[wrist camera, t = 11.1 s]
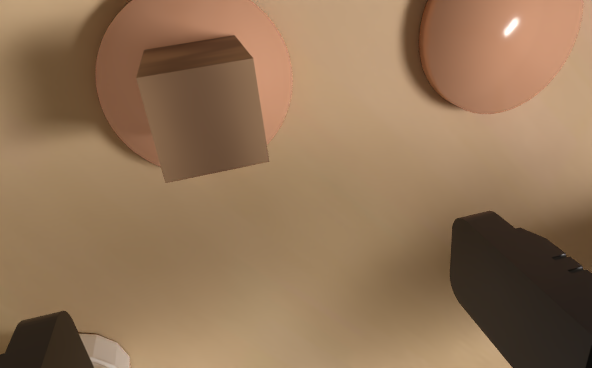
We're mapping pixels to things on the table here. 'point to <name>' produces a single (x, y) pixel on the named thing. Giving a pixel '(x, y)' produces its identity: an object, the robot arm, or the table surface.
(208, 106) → the walnut block
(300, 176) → the table surface
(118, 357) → the white cup
